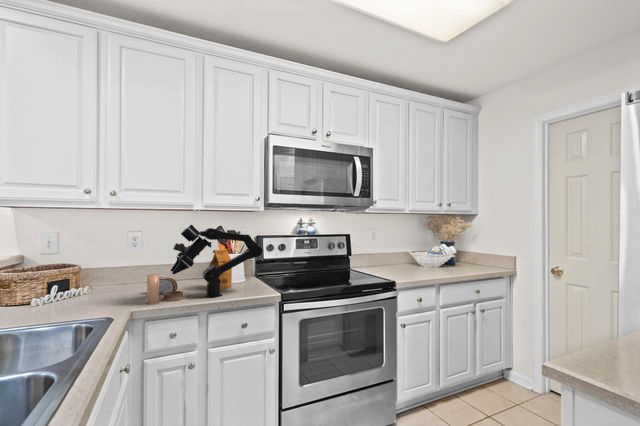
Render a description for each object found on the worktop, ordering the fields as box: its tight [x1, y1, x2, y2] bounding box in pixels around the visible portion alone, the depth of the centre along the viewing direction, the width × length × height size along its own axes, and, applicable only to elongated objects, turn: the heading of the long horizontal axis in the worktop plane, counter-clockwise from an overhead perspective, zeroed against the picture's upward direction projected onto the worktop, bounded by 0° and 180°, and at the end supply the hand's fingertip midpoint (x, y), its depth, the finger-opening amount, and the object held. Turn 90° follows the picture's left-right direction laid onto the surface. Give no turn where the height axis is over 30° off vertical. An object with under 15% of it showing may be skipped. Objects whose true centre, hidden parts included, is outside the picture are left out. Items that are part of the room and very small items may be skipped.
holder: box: [162, 290, 184, 302], centre depth 162 cm, size 9×9×3 cm
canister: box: [146, 273, 160, 305], centre depth 155 cm, size 5×5×13 cm
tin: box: [159, 276, 178, 295], centre depth 175 cm, size 15×3×8 cm, turn 74°
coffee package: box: [208, 248, 233, 291], centre depth 187 cm, size 10×12×22 cm
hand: (172, 272), depth 159 cm, fingers open, 9 cm apart
